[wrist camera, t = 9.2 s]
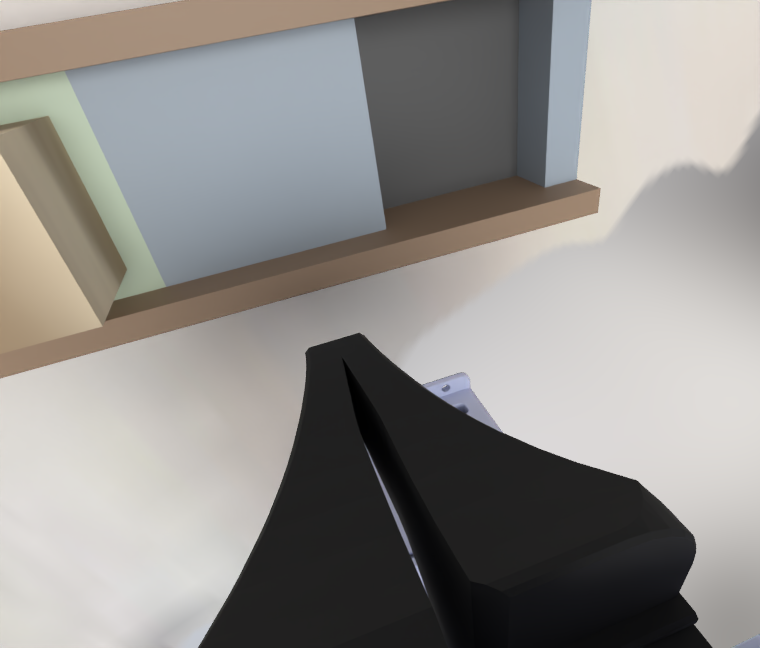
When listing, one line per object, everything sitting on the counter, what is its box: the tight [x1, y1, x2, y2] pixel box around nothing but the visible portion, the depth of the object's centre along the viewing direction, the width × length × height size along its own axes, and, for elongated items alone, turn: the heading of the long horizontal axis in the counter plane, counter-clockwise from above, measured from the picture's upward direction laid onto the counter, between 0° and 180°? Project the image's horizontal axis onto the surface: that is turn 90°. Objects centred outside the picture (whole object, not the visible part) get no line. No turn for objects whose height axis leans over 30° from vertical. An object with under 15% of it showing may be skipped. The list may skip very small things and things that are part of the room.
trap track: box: [0, 0, 600, 378], centre depth 15 cm, size 31×9×4 cm, turn 99°
